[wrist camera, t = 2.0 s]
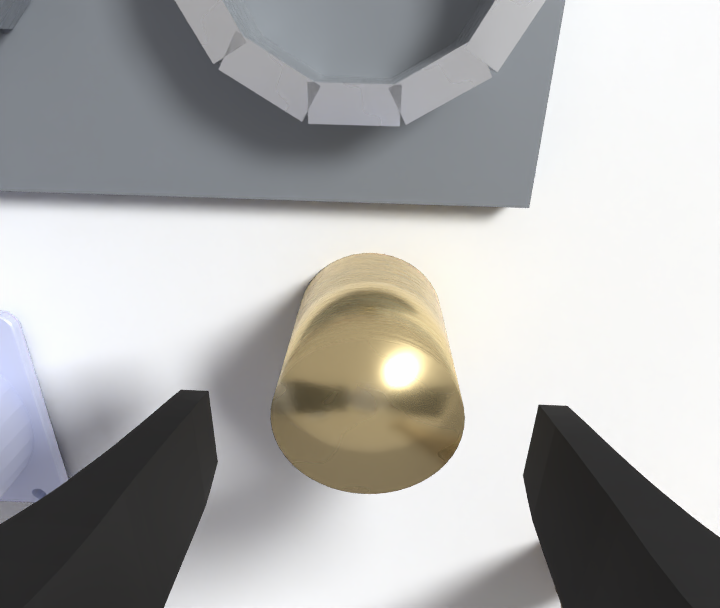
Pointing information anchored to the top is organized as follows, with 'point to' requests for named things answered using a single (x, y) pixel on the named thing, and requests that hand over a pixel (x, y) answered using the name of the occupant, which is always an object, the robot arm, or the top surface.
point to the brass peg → (368, 379)
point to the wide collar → (357, 94)
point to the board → (261, 106)
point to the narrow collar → (12, 13)
